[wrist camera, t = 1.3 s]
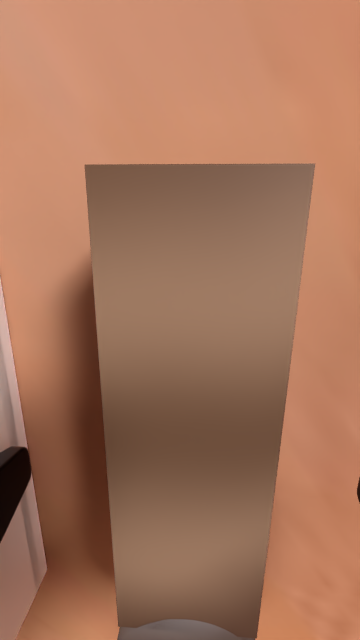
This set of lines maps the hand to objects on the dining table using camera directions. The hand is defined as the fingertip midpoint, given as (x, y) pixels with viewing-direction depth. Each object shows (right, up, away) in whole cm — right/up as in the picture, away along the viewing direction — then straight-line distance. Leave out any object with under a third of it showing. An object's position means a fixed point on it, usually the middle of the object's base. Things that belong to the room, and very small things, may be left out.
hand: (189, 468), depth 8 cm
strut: (0, +1, +3) cm, 4 cm away
